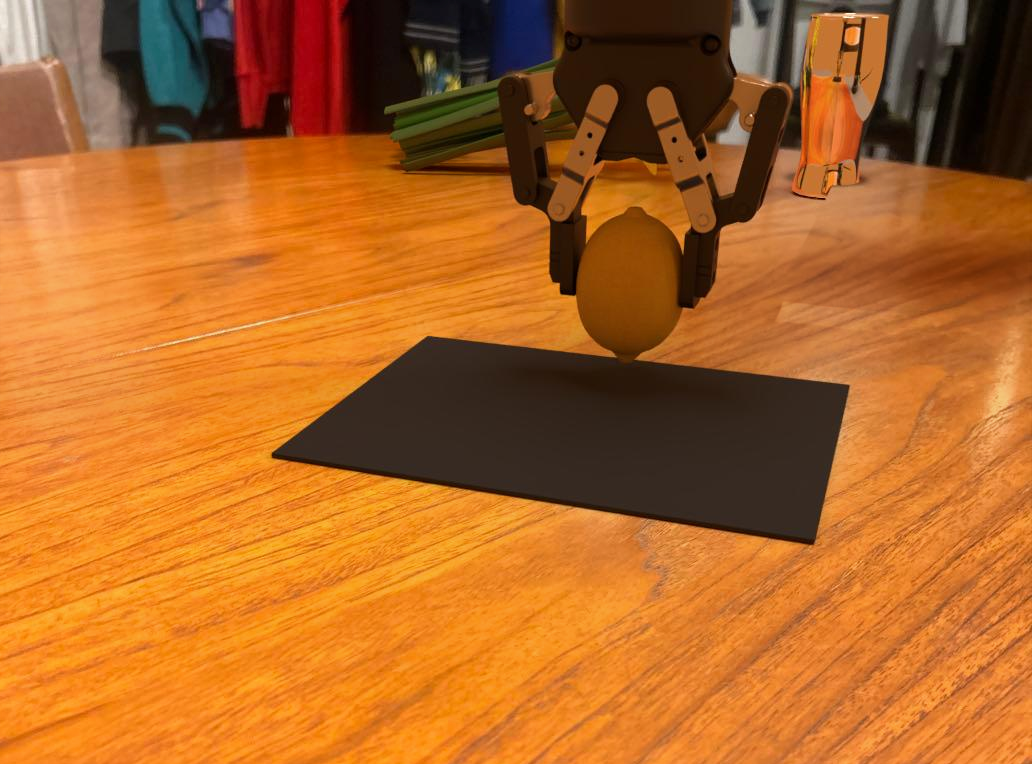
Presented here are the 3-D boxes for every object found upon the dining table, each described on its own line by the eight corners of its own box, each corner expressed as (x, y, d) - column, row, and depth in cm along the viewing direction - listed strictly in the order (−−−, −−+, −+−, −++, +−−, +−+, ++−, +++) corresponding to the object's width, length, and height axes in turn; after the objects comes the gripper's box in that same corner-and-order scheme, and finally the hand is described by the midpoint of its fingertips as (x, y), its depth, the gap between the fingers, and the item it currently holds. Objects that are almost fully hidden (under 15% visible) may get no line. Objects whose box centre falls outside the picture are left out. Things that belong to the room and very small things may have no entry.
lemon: (647, 341, 60) (658, 191, 56) (699, 373, 56) (714, 213, 52) (556, 352, 58) (560, 199, 55) (601, 386, 54) (609, 222, 50)
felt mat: (849, 388, 57) (849, 384, 57) (814, 544, 42) (814, 539, 42) (427, 338, 64) (427, 335, 64) (271, 457, 50) (271, 452, 49)
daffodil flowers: (428, 158, 124) (739, 73, 114) (422, 251, 116) (755, 170, 106) (367, 29, 110) (714, -79, 100) (356, 127, 103) (730, 20, 93)
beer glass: (868, 201, 98) (898, 17, 91) (789, 199, 99) (812, 16, 92) (858, 186, 104) (885, 12, 97) (783, 184, 105) (804, 12, 98)
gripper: (467, -84, 46) (472, 304, 55) (813, -88, 42) (762, 335, 50) (525, -81, 53) (521, 267, 61) (832, -84, 48) (783, 292, 56)
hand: (630, 296), depth 55 cm, fingers closed on lemon, 5 cm apart
